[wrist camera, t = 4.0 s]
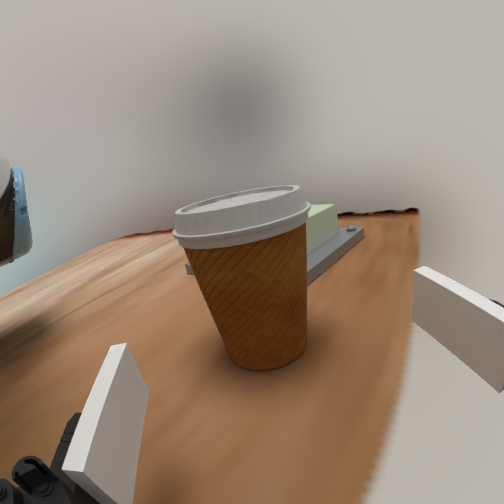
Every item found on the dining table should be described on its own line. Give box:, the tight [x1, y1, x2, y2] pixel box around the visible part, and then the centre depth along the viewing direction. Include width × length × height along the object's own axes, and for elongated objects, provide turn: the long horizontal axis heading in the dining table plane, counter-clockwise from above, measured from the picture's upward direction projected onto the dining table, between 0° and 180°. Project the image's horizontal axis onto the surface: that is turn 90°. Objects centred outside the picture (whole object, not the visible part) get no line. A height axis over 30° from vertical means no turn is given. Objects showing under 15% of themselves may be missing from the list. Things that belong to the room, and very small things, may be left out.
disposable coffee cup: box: [173, 185, 311, 370], centre depth 22 cm, size 10×10×12 cm
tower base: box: [185, 204, 364, 285], centre depth 44 cm, size 20×20×6 cm
